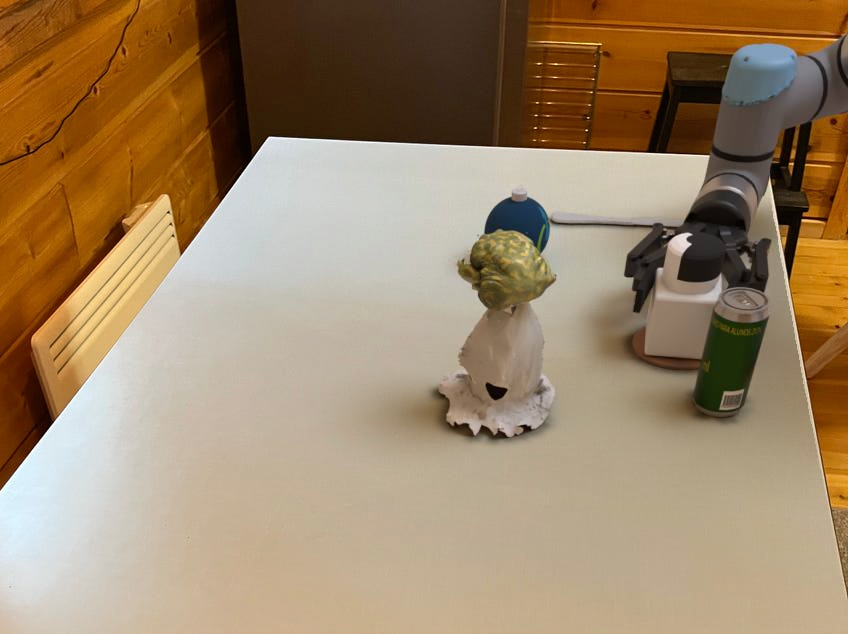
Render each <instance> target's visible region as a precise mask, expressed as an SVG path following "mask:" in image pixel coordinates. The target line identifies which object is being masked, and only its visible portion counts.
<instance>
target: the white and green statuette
mask: <svg viewBox="0 0 848 634" xmlns="http://www.w3.org/2000/svg"><path fill="white" fill-rule="evenodd" d="M476 236H477V237H479V238H478V240H477V241H475V242H474V243H473V245H472V248H471V251H470V254H469V263H470V264H468V263H466V259H465V258H464V257H463V258H462V259H457V262H456V263H455V264H454V265H455V266H457V274H458V276H460V278H461V279H462V280H463V281H465V282H467V283H469V284H471V290H474V291H476V292H477V297H478V299H479V301H480V302H481V304H482V305H483V307H485V308H486V310H485V312H484V313H483V314H482V316H481V318H480V319H479V320H478V322H476V324H475V325H474V327H473V329H472V331H471V332H470V334H469V335H467V336H466V337H467V338H466V339H465V341H464V344H463V345H462V346H461V348H459V351H458V354H457V358H458V359H459V360H458V362H459V366H460V367H463V368H461V369H458V370H456V371H454V372H446V373H445V374H444V378H443V379H441V381H440V382H439V384H438V392H439V393H440V394H442V395H445V398H447V399H448V400H449V408H448V411H447V413H446V418H445V419H446V422H447V423H449V424H450V425H451V426H453V427H455V423H456V424H457V426H458V425H459V426H460V425H462V424H468V427H469V428H470V430H471V431H472V432H473V433H472V434H473V435H474V436H477V434H478V433H479V432H480V430H481V427H482V426H483V427H486V428H488V429H489V430H490V431H491V432H492V435H493V436H495V435H496V434H498V431H499V432H502V433H505V436H506V437H508V438H511V437H514V436H515V434H516V435H517V436H519V435H520V434H522V433H523V432H524V428H523V427H521V426H523V425H526V426H527V427H530V429H531V430H537V428H539V427H540V426H542V425H543V423H544V422H545V420H546V418H548V415H549V413H550V412H551V411H550V409H551V405H552V404H553V402H554V398H555V395H556V391H555V387H554V385H552V384H551V382H550V380H549V378H548V377H547V376H545V374H544V373H543V362H544V356H543V355H544V354H543V350H544V345H545V337H544V333H543V332H544V331H543V327H542V325H541V322H540V321H539V319H538V315H537V314H536V313H535V311H534V309H533V308H532V306H531V303H530V302H532V301H534V300H536V299H539V298H540V297H542V295H544V293H545V292H546V290H547V289H548V288H550V286H552V285H553V284H554V283H555V282H557V274H555V273H554V272H553V271H552V268H551V266H550V264H549V262H548V260H547V259H546V258H544V256H542V253H541V254H540V253H539V251H538V250H537V248H536V247H534V243H533V241H532V240H531V239H529V238H528V237H526V236H524V235H523V234H521V233H519V232H517V231H503V230H501V229H498V230H496V231H495V232H494V233H491V234H484V233H483V234H481V235H480V234H477V235H476ZM488 383H489V384H491V385H492V386H494V387H499V388H505V389H507V391H506V392H505V394H504V396H502V397H501V398H499V399H496V400H495V399H493V398H492V397H491V396H490V394H489V392H488V390H487V387H486V384H488Z"/></svg>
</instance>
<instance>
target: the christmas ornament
mask: <svg viewBox="0 0 848 634" xmlns="http://www.w3.org/2000/svg"><path fill="white" fill-rule="evenodd" d="M520 186H521V187H520ZM498 229H501V230H503V231H517V232H519V233H521V234H523V235H524V236H526V237H528V238H529V239H531V240H532V241H533V243H534V247H536V248H537V250H538V251H539V253H540V254H541V255H542V253H543V252H544V250H545V249H546V247H547V245H548V243H549V239H550V234H551V233H550V232H551V223H550V219H549V216H548V213H547V211H546V210H545V208H544V207H543V206H542V204H541V203H539V202H538V201H537V200H535V199H534V198H532V197H529V196H528V190H527V188H523V185H522V184H520V185H519V187H516V188H513V189H512V190H511V196H509V197H506V198H504V199H502V200H501V201H499V202H498V203H497V204H496V205H495V206H494V207H493V208H492V209H491V211H490V212H489V214H488V216H487V218H486V221H485V224H484V229H483V234H491V233H494V232H495V231H496V230H498Z"/></svg>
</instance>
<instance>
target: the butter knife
mask: <svg viewBox="0 0 848 634" xmlns="http://www.w3.org/2000/svg"><path fill="white" fill-rule="evenodd" d="M550 219H551V220H552V221H553V222H554V223H558V224H559V223H560V224H605V225H606V224H607V225H624V226H633V225H642V226H643V225H644V226H653V224H654V223H662V224H663V227H672V228H673V227H674V228H677V227H679V226H681V225H683V222H684V220H685V219H675V218H674V219H673V218H659V217H658V218H657V217H638V218H636V219H635V218H631V217H613V216H611V217H610V216H601V215H599V216H598V215H591V214H582V213H573V212H561V211H559V212H555V213H553V214H552V215H551V217H550Z"/></svg>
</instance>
